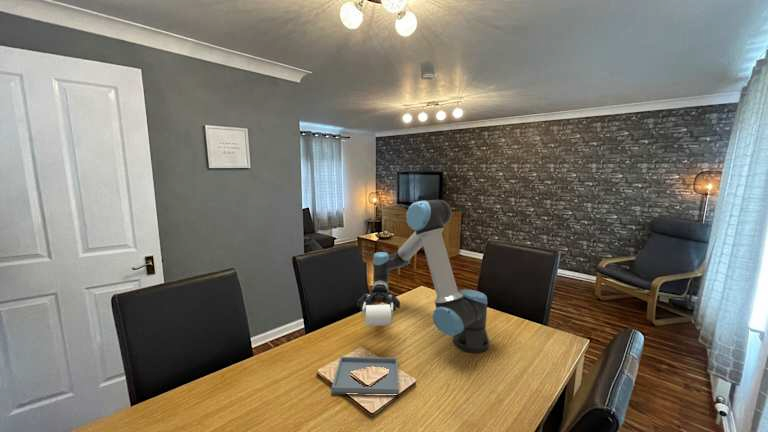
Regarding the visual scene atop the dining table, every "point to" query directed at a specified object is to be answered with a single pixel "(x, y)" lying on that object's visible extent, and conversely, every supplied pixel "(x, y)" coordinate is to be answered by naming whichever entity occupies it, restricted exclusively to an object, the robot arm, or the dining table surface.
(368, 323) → the mug
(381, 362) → the tray
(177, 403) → the dining table surface
